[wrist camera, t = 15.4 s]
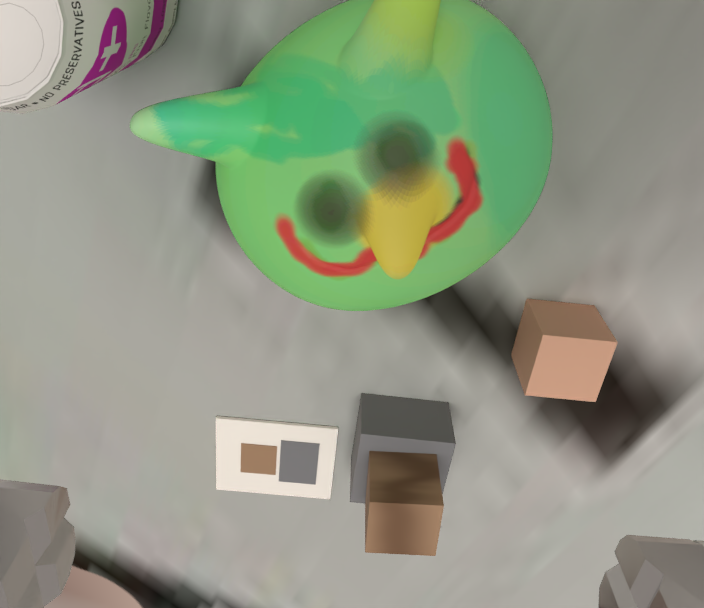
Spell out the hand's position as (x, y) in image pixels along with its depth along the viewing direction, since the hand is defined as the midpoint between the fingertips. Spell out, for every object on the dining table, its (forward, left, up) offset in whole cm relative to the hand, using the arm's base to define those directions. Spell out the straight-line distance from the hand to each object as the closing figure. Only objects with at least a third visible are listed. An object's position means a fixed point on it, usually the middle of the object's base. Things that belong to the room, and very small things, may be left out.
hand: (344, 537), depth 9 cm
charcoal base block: (-6, +27, -34) cm, 44 cm away
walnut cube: (-6, +27, -29) cm, 40 cm away
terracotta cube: (-16, +16, -34) cm, 41 cm away
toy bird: (-1, +2, -34) cm, 34 cm away
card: (+4, +31, -34) cm, 46 cm away
